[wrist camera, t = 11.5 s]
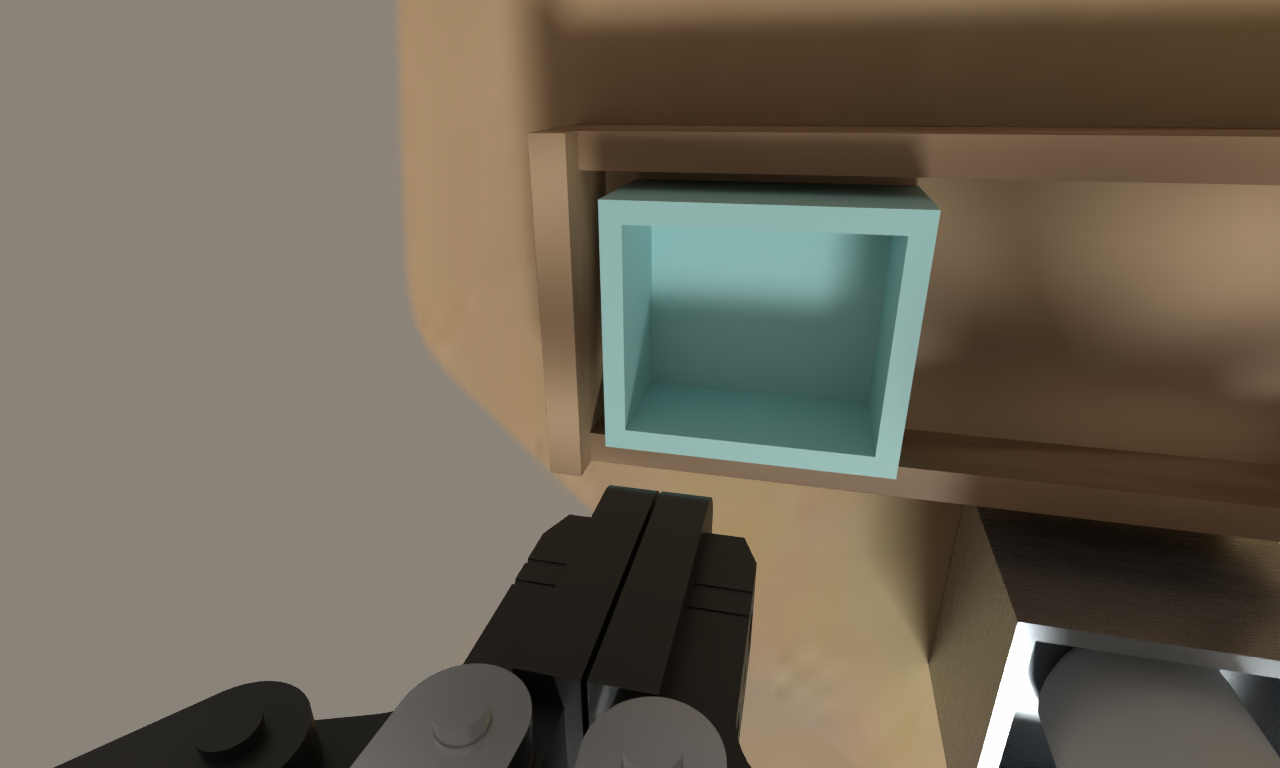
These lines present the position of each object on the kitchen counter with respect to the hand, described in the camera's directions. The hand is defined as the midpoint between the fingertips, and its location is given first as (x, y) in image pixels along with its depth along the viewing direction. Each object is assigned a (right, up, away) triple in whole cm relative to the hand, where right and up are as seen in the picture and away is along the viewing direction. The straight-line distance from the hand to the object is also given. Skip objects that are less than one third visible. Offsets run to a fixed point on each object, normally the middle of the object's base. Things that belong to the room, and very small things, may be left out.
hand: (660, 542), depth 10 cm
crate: (+4, +5, +11) cm, 13 cm away
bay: (+9, +5, +11) cm, 14 cm away
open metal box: (+14, -5, +13) cm, 20 cm away
